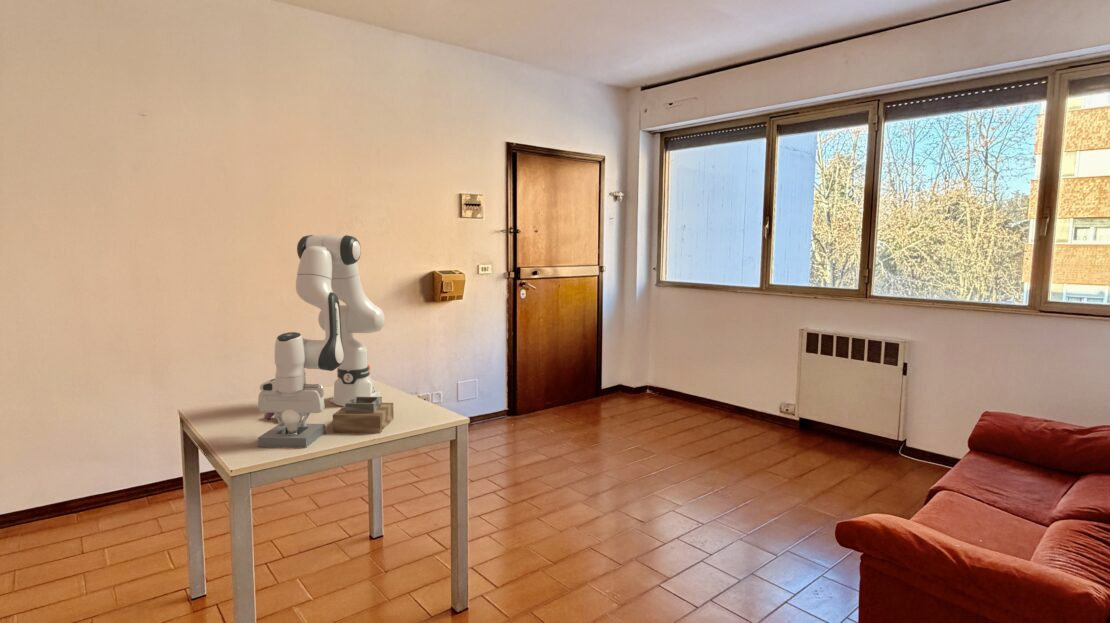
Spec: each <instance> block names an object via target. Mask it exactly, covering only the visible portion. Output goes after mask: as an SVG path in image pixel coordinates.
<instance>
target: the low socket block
mask: <svg viewBox="0 0 1110 623" xmlns="http://www.w3.org/2000/svg"><path fill="white" fill-rule="evenodd" d="M325 433H326V423H307V424H306V426H300V423H299V426H298V429H297V434H289V433H288V430H287V427H286V425H284V426H278V424H277V425H276V426H274V427H272V428H271V429H269V430H267V431H266V432H264V433H262V434H261V435H260V436H258V437H257V443H258V444H257V445H258V446H259V447H258V446H257V447H258V448H299V447H306V448H308V447H309V446H310V445H312V444H313V443H314V442H315V441H316V440H317V438H318V439H319V438H320V437H321V436H323V435H324V434H325ZM322 434H323V435H322ZM312 442H313V443H312ZM307 446H308V447H307Z"/></svg>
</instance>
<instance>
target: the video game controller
mask: <svg viewBox="0 0 1110 623" xmlns="http://www.w3.org/2000/svg"><path fill="white" fill-rule="evenodd" d="M280 415H282V414H280ZM273 417H274V418H275V416H274V413H269V412H265V414H264V416H263V419H264V421H265V420H266V419H267V420H270V419H271V418H273ZM267 420H266V421H267Z"/></svg>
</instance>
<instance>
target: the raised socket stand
mask: <svg viewBox="0 0 1110 623" xmlns="http://www.w3.org/2000/svg"><path fill="white" fill-rule="evenodd" d="M394 414H395V413H394V402H383V399H382V396H380V397H354V398H352V399H351V400H350V401H348V402H347V403H346V404H345V406H341V408H340V409H338V410H337V411H335V412H334V413H333V414H332V433H358V434H359V433H363V434H365V433H367V434H369V433H370V434H371V433H372V434H376V433H377V434H378V433H379V434H381V433H382V432H383V431H384V430H385V429H386V428H387V426H388V425H389V424H391V422H392V421H394ZM385 427H386V428H385ZM384 428H385V429H384ZM383 429H384V430H383ZM382 430H383V431H382Z"/></svg>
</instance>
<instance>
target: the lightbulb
mask: <svg viewBox="0 0 1110 623" xmlns="http://www.w3.org/2000/svg"><path fill="white" fill-rule="evenodd" d="M303 418H304V416H303V413H296V412H295V411H293V410H285V411H284V412H283V413H282V415H281V419H282V421H283V423H284V424H285V425H286V427H287V430H288V433H289V434H297V429H298V426H299V423H300V421H301V420H303Z"/></svg>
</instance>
